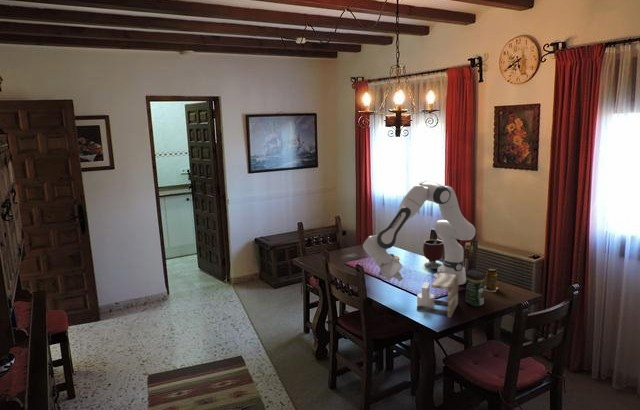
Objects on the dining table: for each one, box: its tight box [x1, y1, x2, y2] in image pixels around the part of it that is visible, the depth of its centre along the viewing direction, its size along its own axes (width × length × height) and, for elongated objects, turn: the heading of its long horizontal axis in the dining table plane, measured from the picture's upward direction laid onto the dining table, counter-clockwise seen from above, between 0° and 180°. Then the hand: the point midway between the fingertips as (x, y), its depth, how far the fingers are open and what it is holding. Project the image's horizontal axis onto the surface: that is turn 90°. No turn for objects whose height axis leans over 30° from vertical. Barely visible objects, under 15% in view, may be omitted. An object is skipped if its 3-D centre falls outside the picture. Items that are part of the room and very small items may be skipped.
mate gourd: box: [422, 239, 445, 269], centre depth 306 cm, size 16×14×20 cm
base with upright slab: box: [416, 281, 435, 308], centre depth 240 cm, size 9×9×12 cm
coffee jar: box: [464, 269, 486, 307], centre depth 240 cm, size 10×8×19 cm
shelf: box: [416, 273, 459, 319], centre depth 236 cm, size 18×20×16 cm
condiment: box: [483, 268, 499, 293], centre depth 261 cm, size 7×8×12 cm
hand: (401, 280), depth 244 cm, fingers closed
